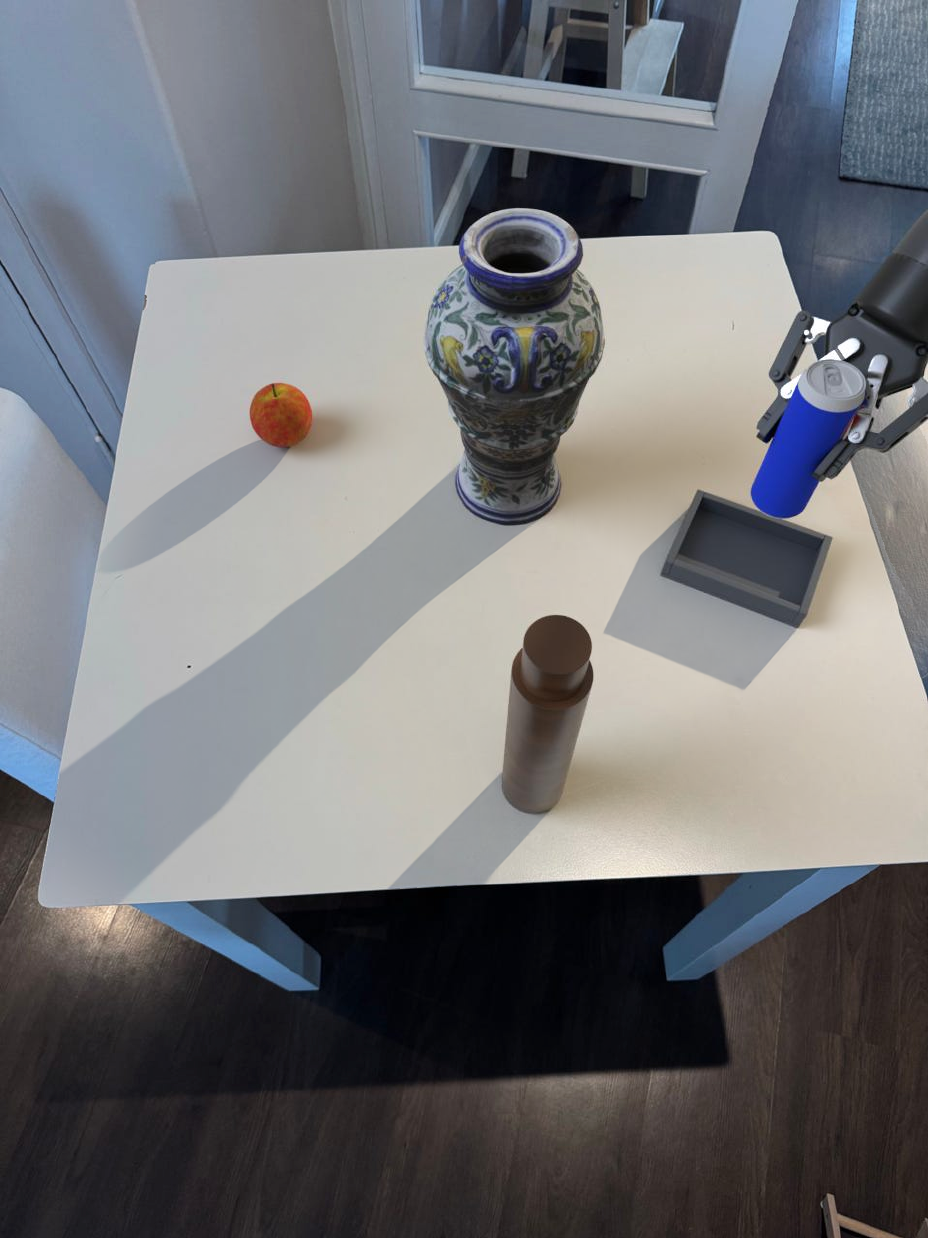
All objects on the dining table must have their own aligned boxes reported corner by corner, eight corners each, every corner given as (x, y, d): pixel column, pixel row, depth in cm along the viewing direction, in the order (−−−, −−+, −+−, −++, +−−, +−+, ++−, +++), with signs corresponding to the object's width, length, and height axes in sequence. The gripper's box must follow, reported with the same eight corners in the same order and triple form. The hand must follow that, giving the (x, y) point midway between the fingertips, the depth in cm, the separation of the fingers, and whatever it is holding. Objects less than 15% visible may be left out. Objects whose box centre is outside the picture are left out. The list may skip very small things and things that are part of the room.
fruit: (321, 453, 97) (309, 402, 90) (261, 464, 96) (245, 414, 89) (311, 410, 100) (300, 358, 93) (253, 421, 99) (237, 369, 92)
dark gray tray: (824, 551, 89) (833, 536, 87) (798, 628, 84) (806, 615, 82) (692, 503, 92) (697, 488, 90) (659, 575, 87) (664, 561, 85)
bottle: (572, 770, 76) (614, 626, 54) (548, 824, 74) (581, 696, 52) (517, 745, 78) (535, 594, 55) (491, 797, 75) (499, 661, 53)
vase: (433, 547, 90) (417, 315, 64) (432, 428, 98) (417, 182, 73) (588, 543, 90) (634, 310, 64) (573, 424, 99) (608, 178, 73)
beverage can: (809, 522, 77) (877, 402, 64) (753, 522, 77) (809, 403, 64) (799, 479, 79) (861, 355, 66) (744, 478, 80) (796, 355, 67)
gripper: (848, 217, 65) (710, 406, 71) (1019, 309, 59) (853, 506, 65) (862, 249, 71) (734, 420, 77) (1017, 335, 65) (865, 511, 72)
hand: (789, 458), depth 71 cm, fingers closed on beverage can, 5 cm apart
